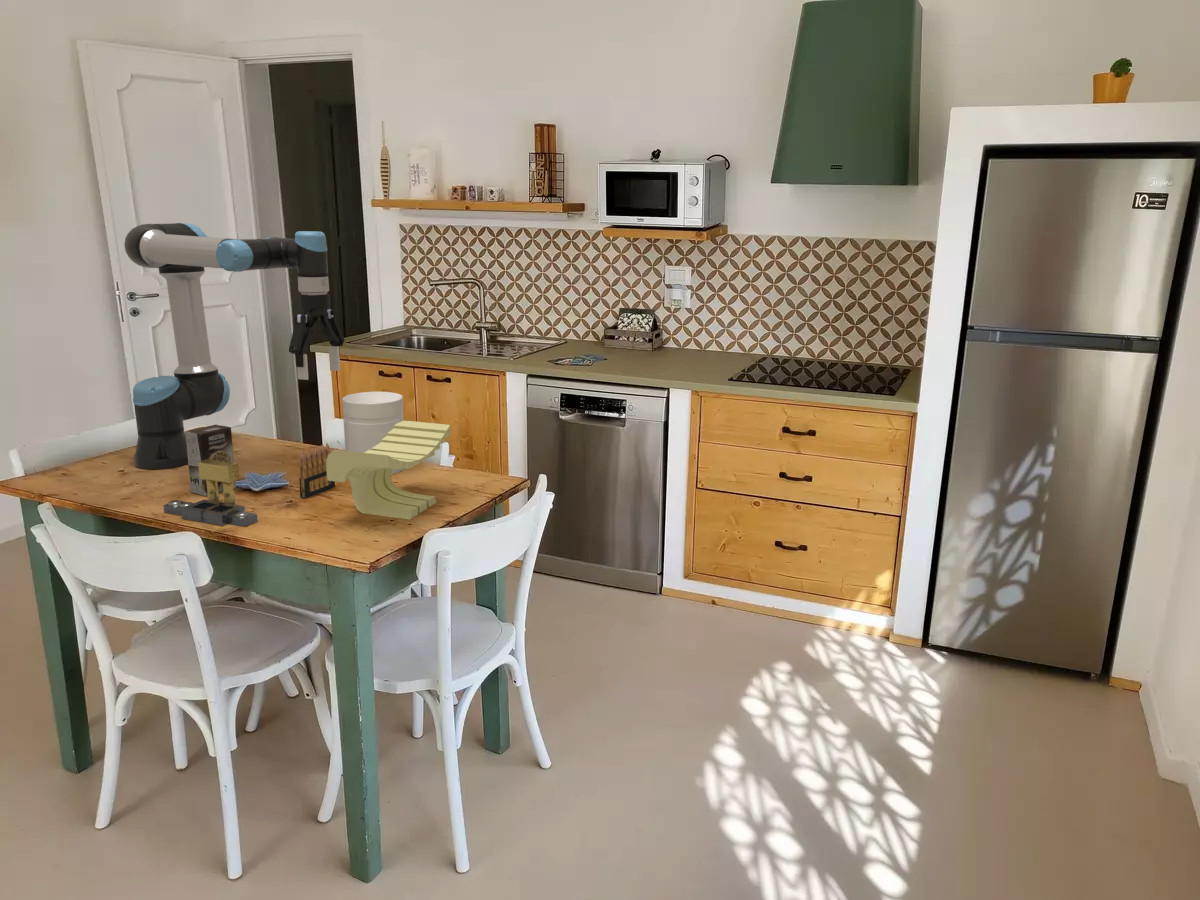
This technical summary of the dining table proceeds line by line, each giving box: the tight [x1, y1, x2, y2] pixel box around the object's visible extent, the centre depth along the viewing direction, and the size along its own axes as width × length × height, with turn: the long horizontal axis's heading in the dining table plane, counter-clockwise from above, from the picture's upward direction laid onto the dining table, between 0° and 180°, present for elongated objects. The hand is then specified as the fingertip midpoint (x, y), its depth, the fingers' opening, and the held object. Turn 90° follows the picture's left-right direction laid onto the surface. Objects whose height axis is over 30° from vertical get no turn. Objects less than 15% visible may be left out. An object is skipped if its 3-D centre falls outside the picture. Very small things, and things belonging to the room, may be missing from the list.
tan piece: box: [198, 459, 240, 505], centre depth 218 cm, size 9×3×10 cm, turn 69°
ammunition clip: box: [298, 442, 336, 499], centre depth 228 cm, size 11×2×12 cm, turn 154°
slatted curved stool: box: [326, 420, 451, 520], centre depth 217 cm, size 30×16×18 cm, turn 162°
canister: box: [341, 391, 405, 475], centre depth 248 cm, size 16×16×20 cm
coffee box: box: [184, 424, 237, 497], centre depth 228 cm, size 9×6×16 cm
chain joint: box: [162, 499, 259, 527], centre depth 210 cm, size 24×7×2 cm, turn 69°
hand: (319, 374), depth 237 cm, fingers open, 13 cm apart
